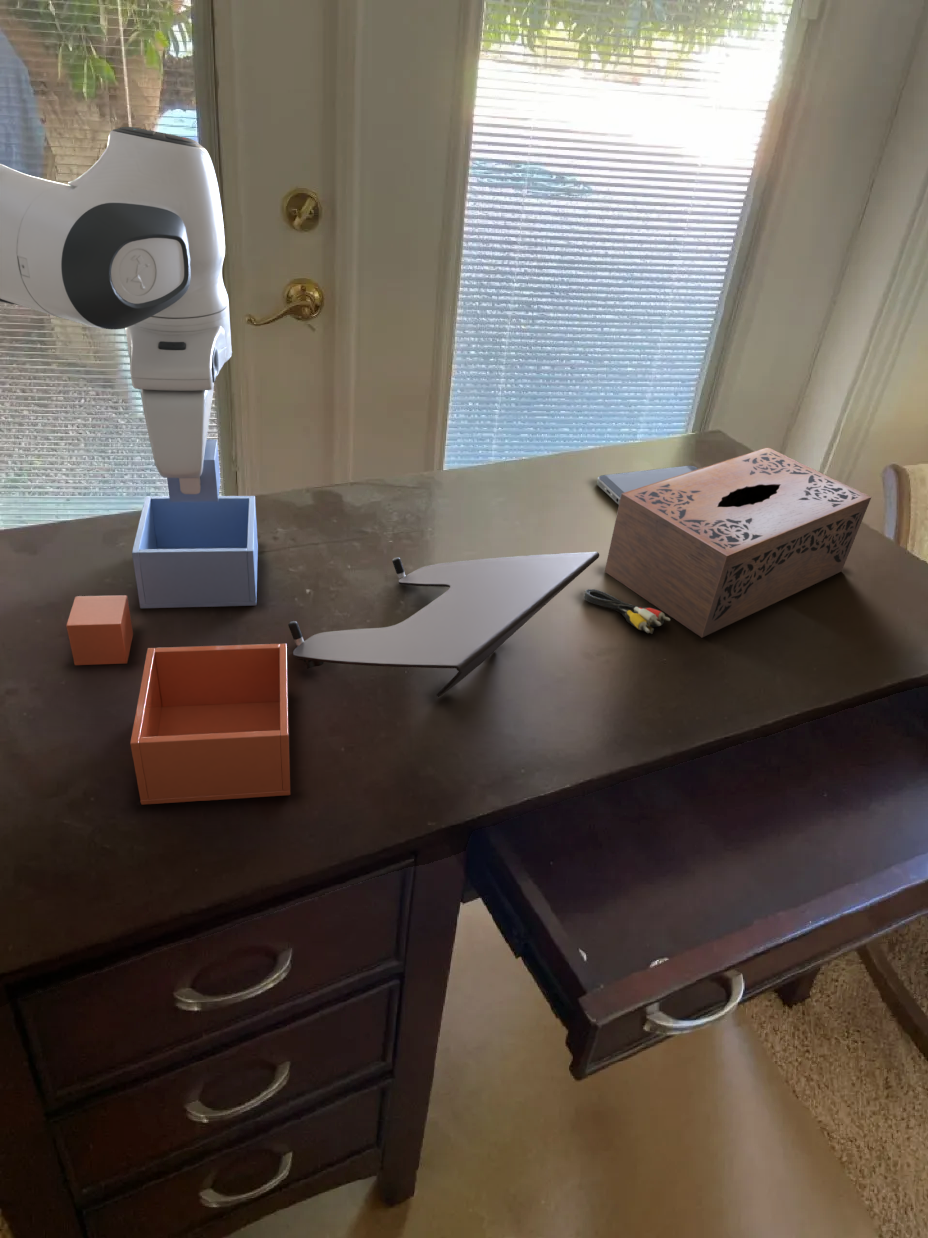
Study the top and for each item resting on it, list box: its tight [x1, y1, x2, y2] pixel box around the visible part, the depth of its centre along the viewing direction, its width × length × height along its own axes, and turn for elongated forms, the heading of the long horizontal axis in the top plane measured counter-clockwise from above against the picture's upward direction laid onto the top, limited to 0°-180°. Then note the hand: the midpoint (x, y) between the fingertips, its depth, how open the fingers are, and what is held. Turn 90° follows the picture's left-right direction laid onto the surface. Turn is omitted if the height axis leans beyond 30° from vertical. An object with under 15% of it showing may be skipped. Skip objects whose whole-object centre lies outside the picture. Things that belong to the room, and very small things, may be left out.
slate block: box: [166, 438, 221, 502], centre depth 86 cm, size 4×4×4 cm
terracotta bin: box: [129, 643, 291, 806], centre depth 71 cm, size 11×11×6 cm
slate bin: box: [131, 495, 259, 609], centre depth 91 cm, size 11×11×6 cm
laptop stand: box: [287, 551, 600, 698], centre depth 84 cm, size 23×23×9 cm
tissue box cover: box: [604, 446, 872, 638], centre depth 101 cm, size 26×14×10 cm, turn 127°
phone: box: [596, 465, 699, 506], centre depth 119 cm, size 8×1×16 cm
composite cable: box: [583, 588, 671, 635], centre depth 94 cm, size 10×5×2 cm, turn 39°
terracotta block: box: [66, 594, 134, 666], centre depth 81 cm, size 4×4×4 cm
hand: (193, 476), depth 86 cm, fingers closed on slate block, 4 cm apart
